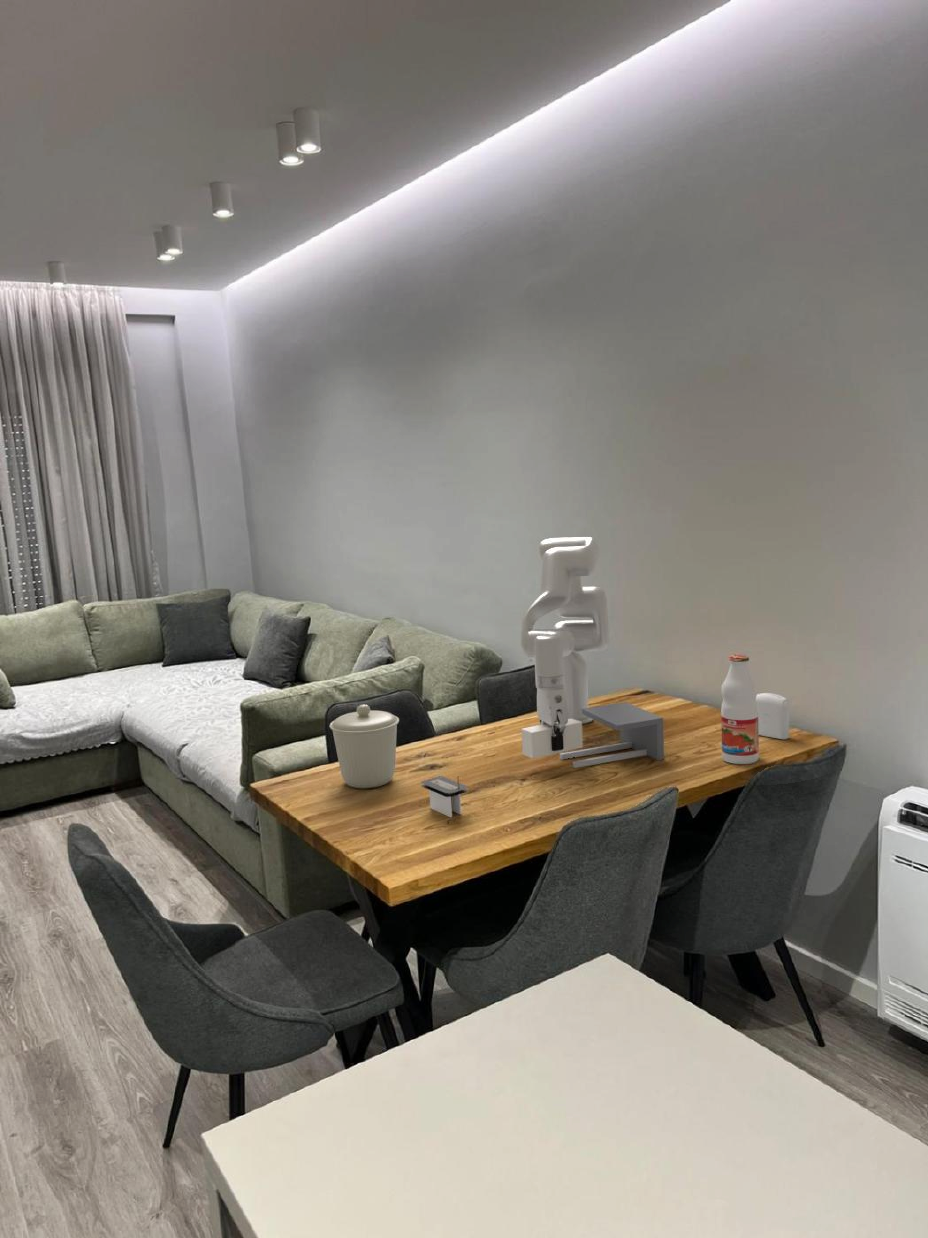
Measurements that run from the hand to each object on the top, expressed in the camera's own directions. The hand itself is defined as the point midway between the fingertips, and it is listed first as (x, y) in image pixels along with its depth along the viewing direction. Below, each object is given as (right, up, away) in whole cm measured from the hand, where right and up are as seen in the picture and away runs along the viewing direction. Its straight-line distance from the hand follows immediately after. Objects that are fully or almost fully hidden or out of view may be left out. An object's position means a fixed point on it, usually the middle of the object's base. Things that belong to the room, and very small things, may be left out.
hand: (552, 746), depth 252 cm
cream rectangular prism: (0, -1, 0) cm, 1 cm away
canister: (-49, -9, -4) cm, 50 cm away
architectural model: (-28, -12, -27) cm, 41 cm away
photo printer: (+64, +1, +16) cm, 66 cm away
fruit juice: (+49, -3, -3) cm, 50 cm away
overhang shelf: (+15, -4, +6) cm, 17 cm away
